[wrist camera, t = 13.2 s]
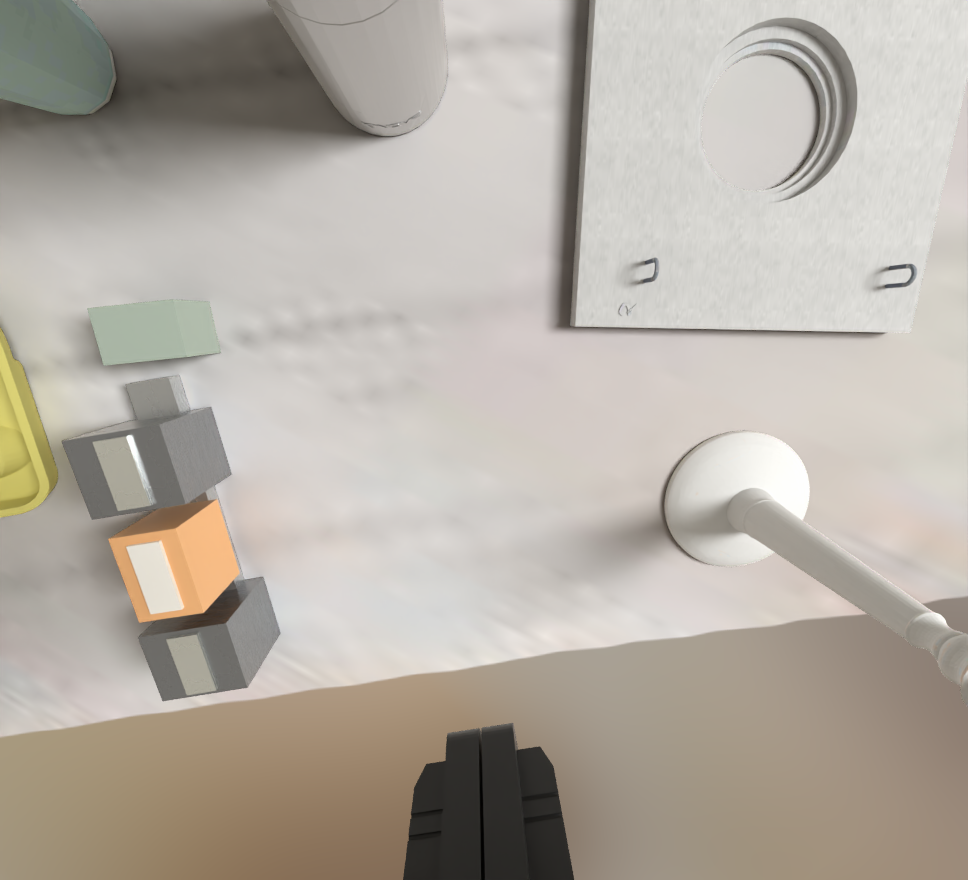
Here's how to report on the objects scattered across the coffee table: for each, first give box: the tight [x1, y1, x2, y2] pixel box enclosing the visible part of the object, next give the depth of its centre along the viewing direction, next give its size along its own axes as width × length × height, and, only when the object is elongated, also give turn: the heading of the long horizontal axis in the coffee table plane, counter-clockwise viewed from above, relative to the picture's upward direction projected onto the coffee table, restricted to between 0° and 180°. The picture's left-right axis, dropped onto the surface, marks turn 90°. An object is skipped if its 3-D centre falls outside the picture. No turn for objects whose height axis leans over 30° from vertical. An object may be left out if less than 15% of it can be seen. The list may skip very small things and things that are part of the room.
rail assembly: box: [62, 375, 280, 701], centre depth 40 cm, size 26×7×7 cm, turn 9°
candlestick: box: [664, 431, 968, 707], centre depth 30 cm, size 13×13×30 cm
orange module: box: [108, 499, 240, 623], centre depth 39 cm, size 7×5×6 cm
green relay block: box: [87, 299, 221, 366], centre depth 37 cm, size 4×6×5 cm, turn 96°
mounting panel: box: [570, 0, 968, 333], centre depth 35 cm, size 27×5×30 cm
